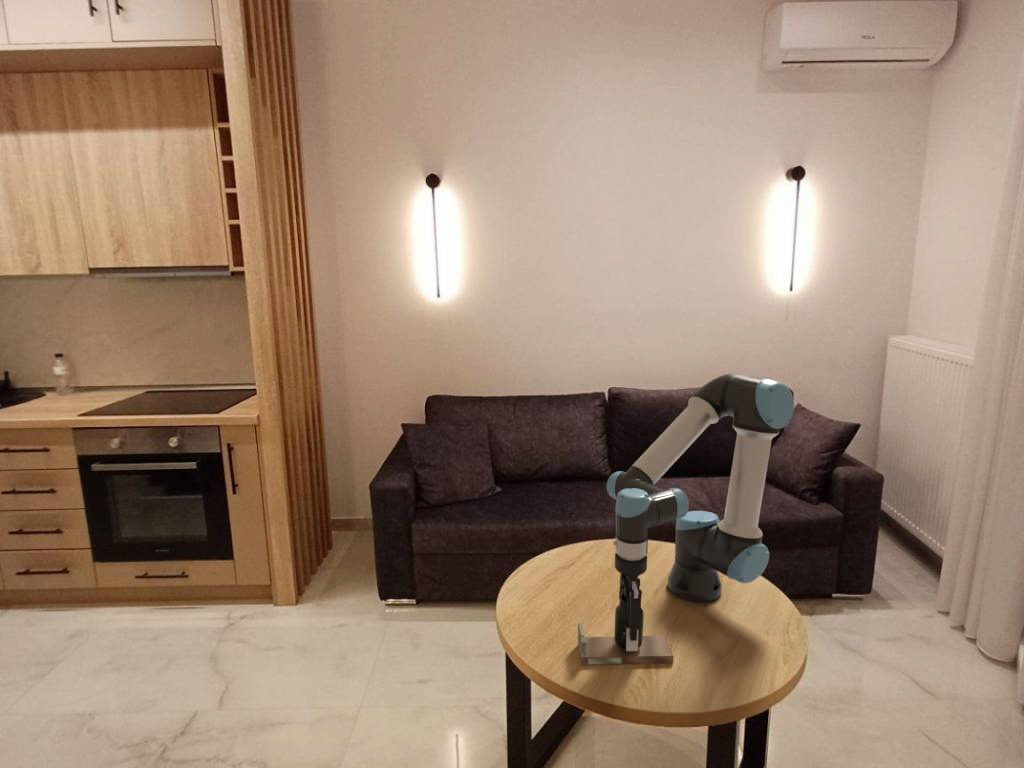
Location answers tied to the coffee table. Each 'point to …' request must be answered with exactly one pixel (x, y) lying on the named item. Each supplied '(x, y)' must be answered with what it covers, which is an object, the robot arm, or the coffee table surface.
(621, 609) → the supplement bottle
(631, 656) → the rail flange
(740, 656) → the coffee table surface
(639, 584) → the robot arm
